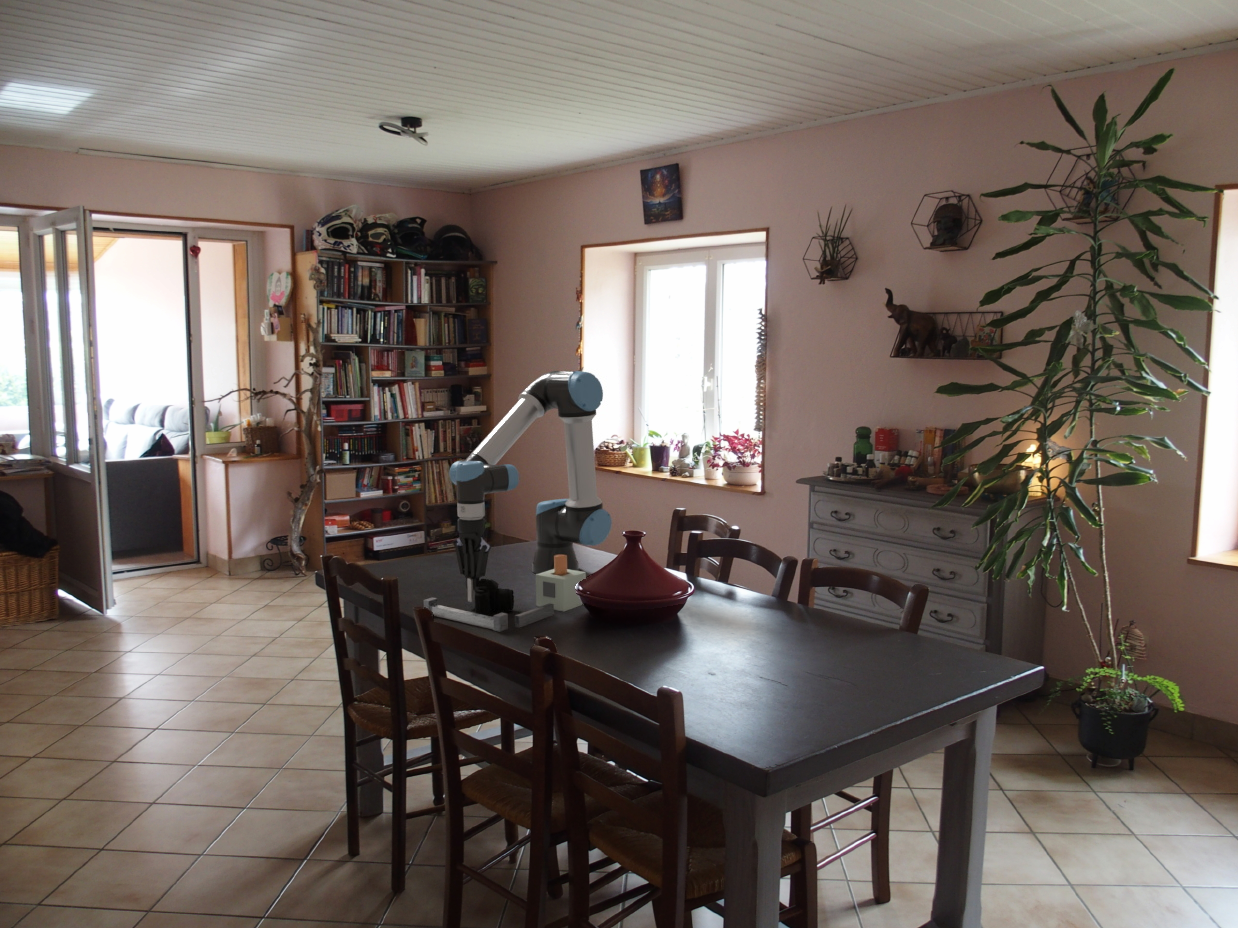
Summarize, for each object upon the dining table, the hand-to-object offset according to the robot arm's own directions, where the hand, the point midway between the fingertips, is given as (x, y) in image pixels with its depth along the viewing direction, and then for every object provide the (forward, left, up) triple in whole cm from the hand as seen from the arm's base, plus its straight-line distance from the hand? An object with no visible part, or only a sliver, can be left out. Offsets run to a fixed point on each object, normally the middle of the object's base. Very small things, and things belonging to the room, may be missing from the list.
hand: (473, 600), depth 264 cm
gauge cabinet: (-16, +19, -2) cm, 25 cm away
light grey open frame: (+3, +8, -2) cm, 9 cm away
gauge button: (-16, +19, +6) cm, 25 cm away
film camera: (0, +8, -2) cm, 8 cm away
